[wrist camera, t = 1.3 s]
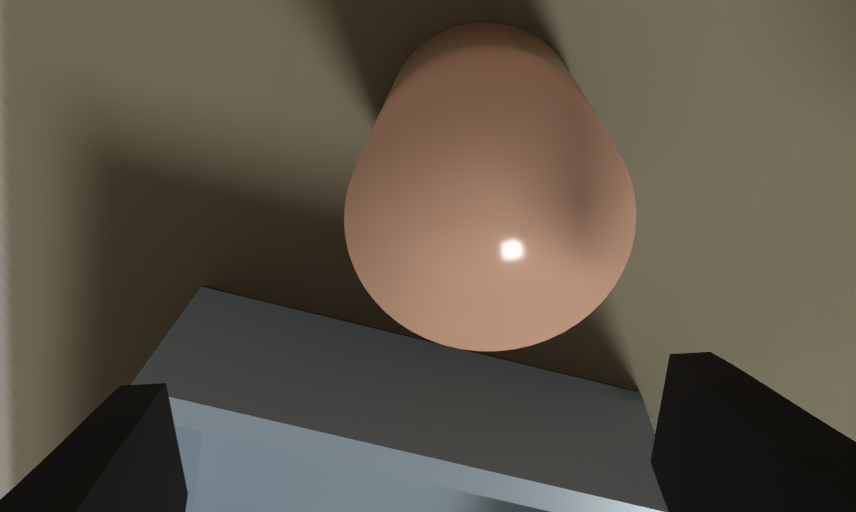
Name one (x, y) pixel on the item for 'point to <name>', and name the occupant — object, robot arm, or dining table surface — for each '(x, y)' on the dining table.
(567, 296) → the terracotta capsule
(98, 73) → the dining table surface
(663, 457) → the robot arm
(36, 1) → the dining table surface
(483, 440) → the tote
